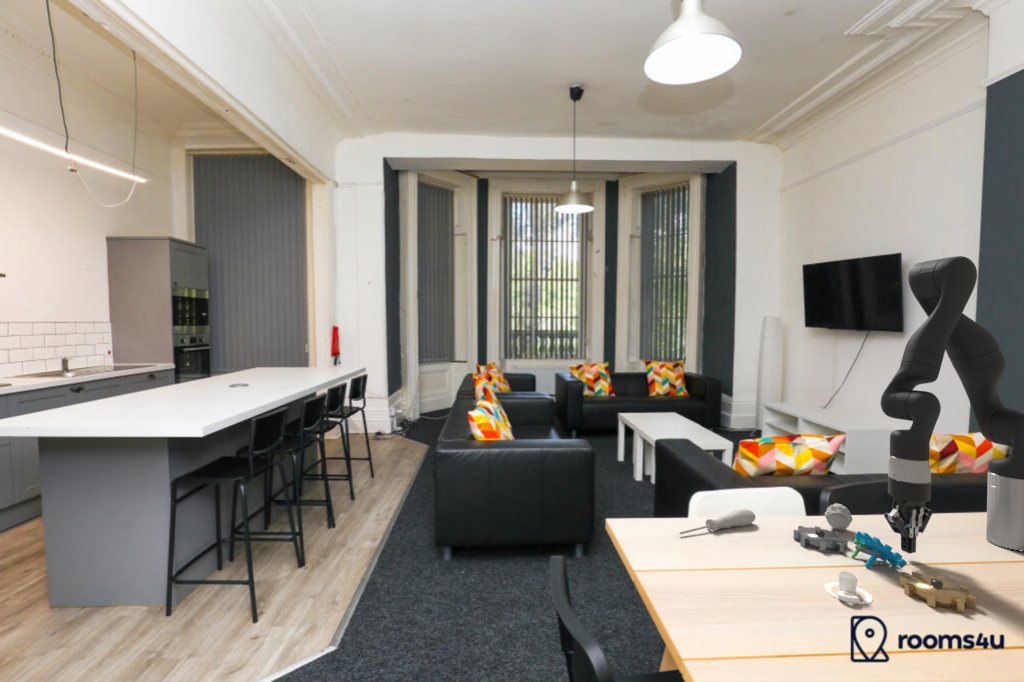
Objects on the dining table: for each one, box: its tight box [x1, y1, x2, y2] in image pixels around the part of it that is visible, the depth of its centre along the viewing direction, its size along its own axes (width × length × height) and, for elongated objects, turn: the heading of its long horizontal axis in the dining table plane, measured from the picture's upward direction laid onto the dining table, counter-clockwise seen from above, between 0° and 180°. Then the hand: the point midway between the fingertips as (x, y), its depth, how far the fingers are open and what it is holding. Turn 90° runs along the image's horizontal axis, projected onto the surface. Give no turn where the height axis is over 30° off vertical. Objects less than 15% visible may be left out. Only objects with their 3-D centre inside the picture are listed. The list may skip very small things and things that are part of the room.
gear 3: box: [899, 571, 977, 614], centre depth 95 cm, size 11×11×3 cm
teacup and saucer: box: [823, 570, 874, 605], centre depth 96 cm, size 9×8×4 cm
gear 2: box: [850, 530, 908, 569], centre depth 107 cm, size 11×6×10 cm
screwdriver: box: [678, 508, 756, 535], centre depth 127 cm, size 5×25×4 cm, turn 111°
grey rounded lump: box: [824, 502, 854, 531], centre depth 127 cm, size 6×7×7 cm
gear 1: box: [792, 525, 849, 554], centre depth 119 cm, size 11×11×3 cm
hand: (908, 551), depth 110 cm, fingers closed
